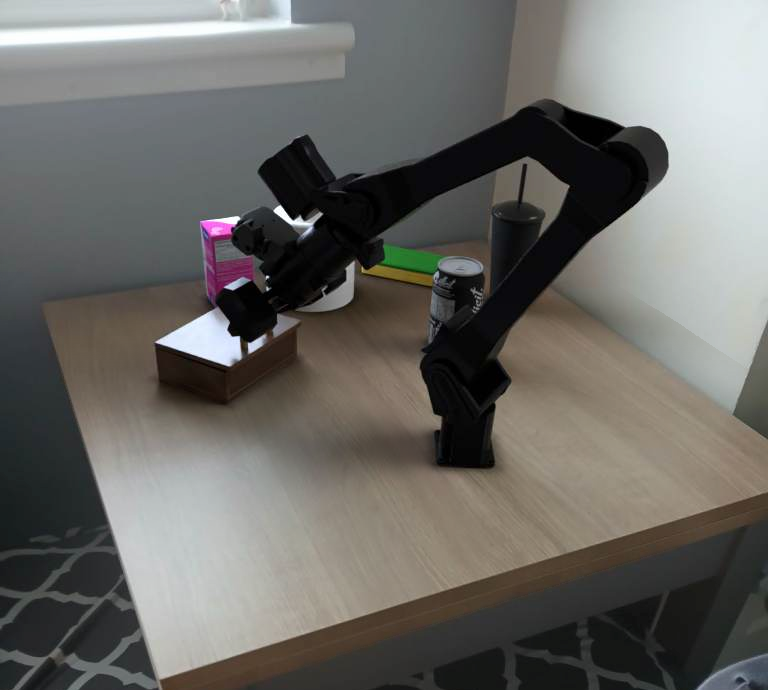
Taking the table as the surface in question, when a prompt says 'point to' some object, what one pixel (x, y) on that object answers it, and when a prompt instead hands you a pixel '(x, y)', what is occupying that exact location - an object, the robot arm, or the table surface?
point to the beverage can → (455, 290)
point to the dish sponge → (407, 265)
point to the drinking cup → (512, 233)
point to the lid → (221, 340)
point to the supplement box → (222, 256)
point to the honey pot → (334, 298)
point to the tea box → (220, 381)
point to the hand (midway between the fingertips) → (246, 323)
